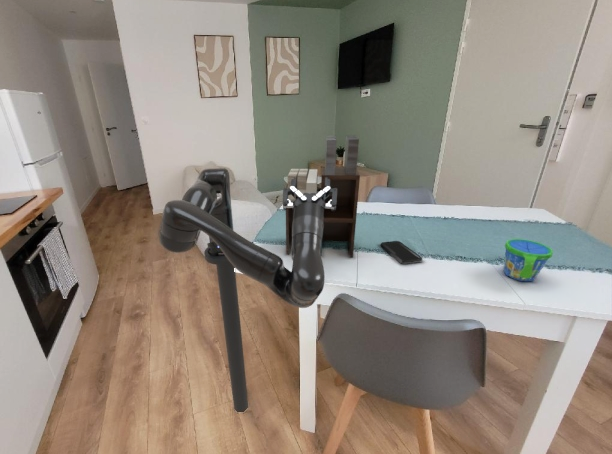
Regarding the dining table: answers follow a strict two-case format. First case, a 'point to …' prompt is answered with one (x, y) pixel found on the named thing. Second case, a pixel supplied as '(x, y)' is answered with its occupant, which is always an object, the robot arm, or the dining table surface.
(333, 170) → the bookcase
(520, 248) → the snack cup
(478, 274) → the dining table surface
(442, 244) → the dining table surface
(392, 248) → the phone
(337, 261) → the dining table surface
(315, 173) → the white book
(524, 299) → the dining table surface
